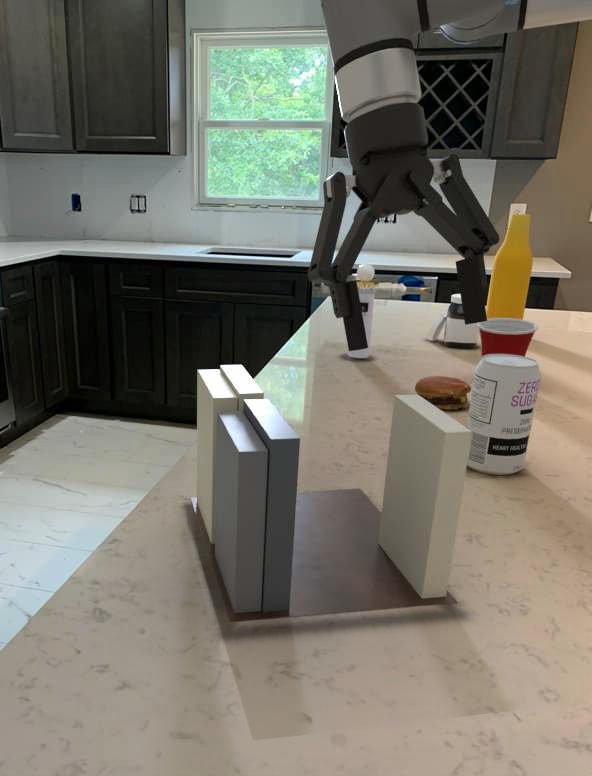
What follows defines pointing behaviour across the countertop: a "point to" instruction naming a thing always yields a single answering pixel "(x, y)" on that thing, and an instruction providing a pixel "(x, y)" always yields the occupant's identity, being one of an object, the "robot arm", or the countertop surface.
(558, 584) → the countertop surface
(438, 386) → the burger
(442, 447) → the cream book
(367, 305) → the perfume bottle
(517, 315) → the beer bottle
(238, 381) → the cream books
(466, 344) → the spread jar
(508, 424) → the supplement can
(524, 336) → the plastic cup
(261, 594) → the grey books
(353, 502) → the shelf board
